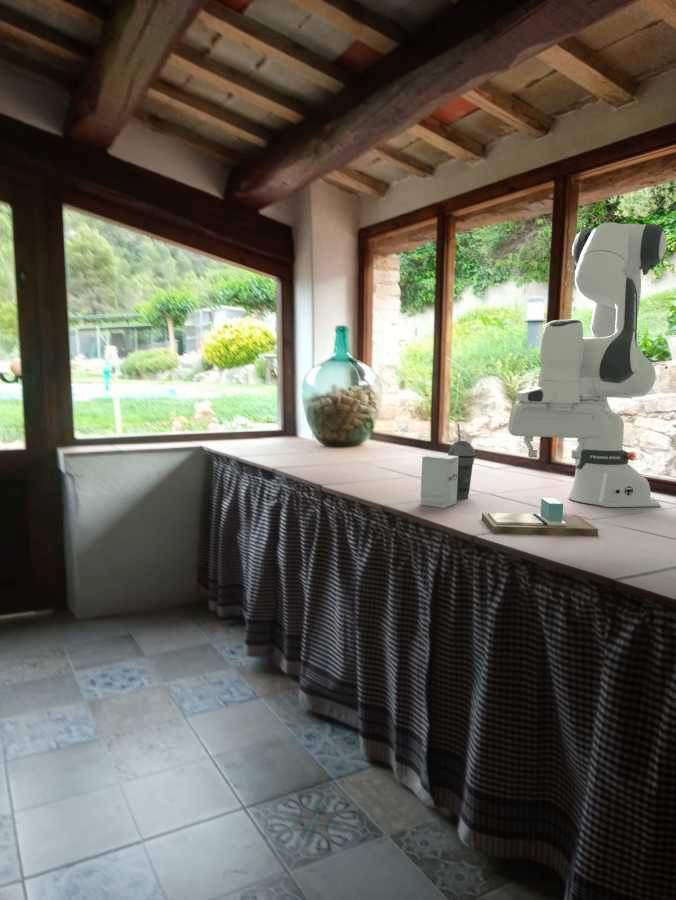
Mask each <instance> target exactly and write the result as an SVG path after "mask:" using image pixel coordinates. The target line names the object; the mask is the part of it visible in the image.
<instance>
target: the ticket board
mask: <svg viewBox="0 0 676 900" xmlns="http://www.w3.org/2000/svg"><path fill="white" fill-rule="evenodd" d="M537 514H538V513H518V512H517V513H515V512H514V513H512V512H509V513H508V512H500V513H499V512H481V520H482V522H483V523H484V524H485V525H486V526H487V527H488V529H489V530H490V531H491V533H493V534H504V535H505V534H509V535H511V534H513V535H544V536H545V535H551V536H552V535H553V536H557V535H559V536H585V537H586V536H587V537H589V536H591V537H593V536H598V535H599V528H598V527H596V526H594V525H593V524H592V523H590V522H588V521H587V520H586V519H584V518H582V517H580V516H579V515H578V514H563V517H562V520H563V521H564V522H565V523H567V526H558V525H547V522H544V520H542V518H540V517H539V516H538V515H537Z"/></svg>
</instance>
